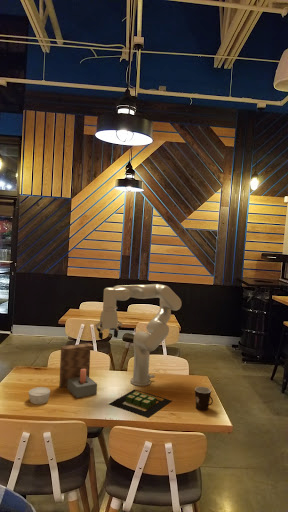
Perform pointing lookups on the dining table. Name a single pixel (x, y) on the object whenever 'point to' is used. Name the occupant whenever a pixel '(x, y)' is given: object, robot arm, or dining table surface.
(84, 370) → the peg
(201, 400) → the coffee mug
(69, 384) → the socket block
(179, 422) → the dining table surface
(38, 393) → the ramekin
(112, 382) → the dining table surface
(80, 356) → the wood grain panel
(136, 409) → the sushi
